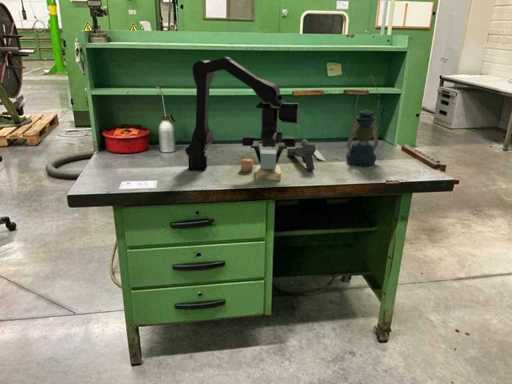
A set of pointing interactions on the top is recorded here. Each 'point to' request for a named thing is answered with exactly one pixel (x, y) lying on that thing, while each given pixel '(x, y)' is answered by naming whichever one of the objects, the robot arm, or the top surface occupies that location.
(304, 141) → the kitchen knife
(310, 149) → the handgun
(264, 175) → the beech slab
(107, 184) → the top surface
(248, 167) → the orange-tan rounded lump
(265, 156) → the blue-grey cube
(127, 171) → the top surface
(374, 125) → the lantern
